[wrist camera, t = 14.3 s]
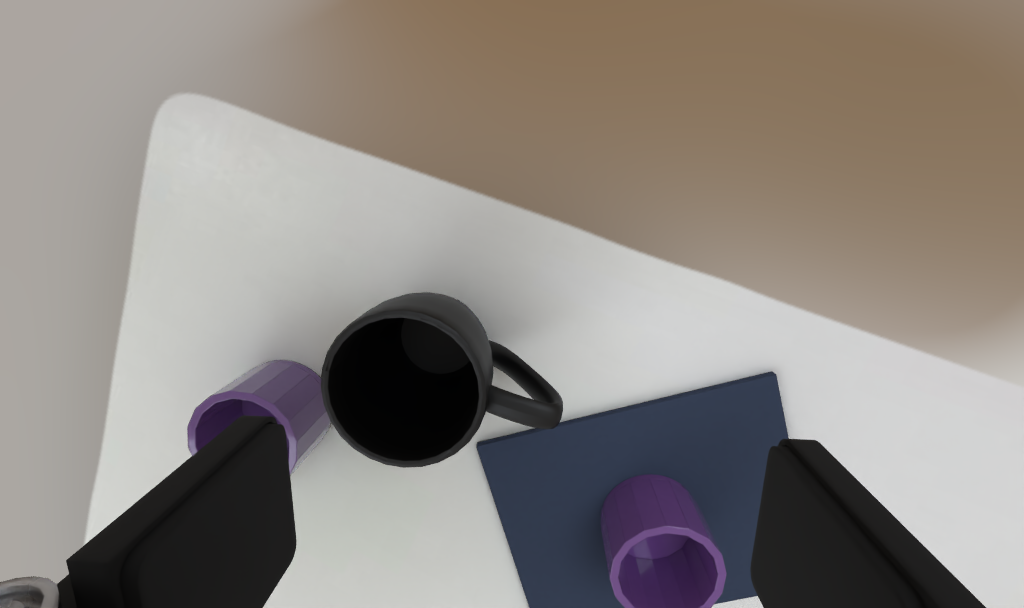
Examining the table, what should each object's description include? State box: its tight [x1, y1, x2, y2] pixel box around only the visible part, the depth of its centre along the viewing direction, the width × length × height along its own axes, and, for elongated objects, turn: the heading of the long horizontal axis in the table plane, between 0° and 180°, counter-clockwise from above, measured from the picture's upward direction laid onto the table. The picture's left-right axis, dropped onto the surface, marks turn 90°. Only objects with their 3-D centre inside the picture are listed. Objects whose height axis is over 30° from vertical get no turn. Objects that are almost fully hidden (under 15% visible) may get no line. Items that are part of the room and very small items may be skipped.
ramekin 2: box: [601, 474, 727, 608], centre depth 33 cm, size 7×7×6 cm
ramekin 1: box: [187, 360, 331, 476], centre depth 34 cm, size 7×7×6 cm
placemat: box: [477, 372, 789, 608], centre depth 36 cm, size 20×16×1 cm
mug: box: [321, 293, 563, 467], centre depth 30 cm, size 8×12×10 cm
